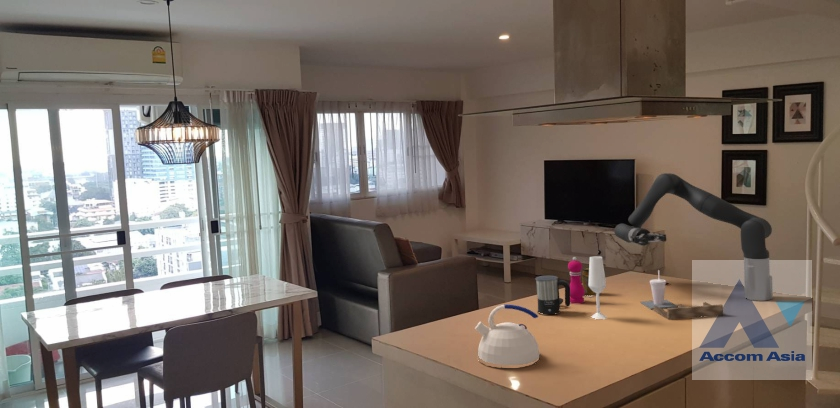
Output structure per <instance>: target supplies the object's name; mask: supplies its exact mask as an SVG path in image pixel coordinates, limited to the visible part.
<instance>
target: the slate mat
mask: <svg viewBox="0 0 840 408" xmlns="http://www.w3.org/2000/svg"><path fill="white" fill-rule="evenodd" d="M640 304H641V305H643V306H645V307H646V308H648V309H650V310H654V306H657V307H659V308H661V309H663V310H666V309H667V308H679V305H677V304H676V303H673V302H671V301H669V300H668V299H664V304H662V305H656V304H654V301H653V300H645V301H640Z"/></svg>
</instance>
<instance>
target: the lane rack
mask: <svg viewBox="0 0 840 408" xmlns="http://www.w3.org/2000/svg"><path fill="white" fill-rule="evenodd" d="M653 312H655V313H656V314H658V315H660V316H662V317H664V318H666V319H667V320H669V321H670V320H681V319H693V318H695V317H696V318H705V317H704V316H710V317H718V316H717V315H723V316H724V305H723V304H722V303H721V304H710V303H708V302H705V301H704V302H702V305H695V306H685V305H683V304H682V303H679V304H678V308H666V309H661V308H659V307H657V306H654V309H653ZM701 316H702V317H701Z"/></svg>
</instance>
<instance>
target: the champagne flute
mask: <svg viewBox="0 0 840 408" xmlns="http://www.w3.org/2000/svg"><path fill="white" fill-rule="evenodd" d="M588 264H589V265H588V266H589V267H588V268H589V283H588V285H589V287H590V289H591V290H592V291H593V292H595V293H596V295H595V297H596V301H595V302H596V312H595V313H594V314H592V315H591V316H590V317H592V318H595V319H594V320H596V319H603V320H606V319H605V318H607V317H608V316H607V315H605V314H603V313H602V312H601V304H600V302H601V301H600V294H601V293H602V292H603V291H604V290H605V289H606V286H607V282H606V281H607V280H606V274H605V267H604V259H603V256H600V255H597V256H596V255H595V256H589V263H588ZM599 293H600V294H599ZM607 319H608V318H607Z"/></svg>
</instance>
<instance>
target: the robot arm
mask: <svg viewBox="0 0 840 408" xmlns="http://www.w3.org/2000/svg"><path fill="white" fill-rule="evenodd" d="M666 194H671V195H673V196H677V197H679V198H681V199H683V200H685V201H686V202H687V203H688V204H690V206H691V207H693V208H694V209H695V210H697V211H698V212H699V213H702V214H703V215H705V216H707V217H709V218H711V219H714V220H715V221H718V222H719V221H720V222H724V223H728V224H731V225H732V226H735V227H737V228H739V229H740V243H741V245H740V246H741V250H742V253H743V271H744V272H743V275H744V276H743V277H744V278H743V280H744V283H743V285H744V298H745V299H746V298H747V299H746V300H749V301H750V300H751V301H756V302H758V301H759V302H761V301H769V300H773V298H774V297H773V294H774V293H773V276H772V275H771V274H770V273H771V271H770V270H771V269H770V267H771V266H770V250H768V249H767V245H766V239H767V238H768V237H770V236H771V234H772V231H773V227H772V225H771V224H770V222H769V221H768V220H766V219H765V218H762V217H760V216H757V215H755V214H752V213H749V212H746V211H744V210H742V209H741V208H738V207H737V206H735V205H734V204H732V203H730V202H728V201H726V200H724V199H722V198H721V197H718V196H717V195H715V194H713V193H711V192H708V191H707V190H704V189H702V188H700V187H698V186H694V185H693V184H691V183H689V182H688V181H687V180H685V179H684V178H682V177H681V176H679V175H677V174H675V173H670V172H669V173H667V172H666V173H661V174H658V175H657V176H656V178H655V179H654V181H653V183H652V185H651V187H650V188H649V190H648V191H647V192H646V195H645V197H644V198H643V199H642V200H641V202H640V203H639V204H638V205H637V207H636V208H635V209H634V210H633V211H632V213H631V214H630V215H629V216H628V219H627V220H628V223H629V224H630V225H631V226H630V225H628V224H626V223H623V222H622V223H619V224H617V225H616V226H615V227H614V230H613V232H614V235H615V237H617V238H618V239H620V240H622V241H625V242H626V243H629V244H630V243H633V244H634V245H639V246H647V245H649V244H651V243H654V242H655V243H658V242H666V241H667V234H663V233H652V232H651V231H650V230H649V229H647V228H642V227H643V225H644V224H645V223H646V221H648V219H649V218H650V217H651V215H652V213H653V211H654V209H655V207H656V206H657V204H658V202H659V201H660V200H661V199H662V198H663V196H664V197H665V196H666Z"/></svg>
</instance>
